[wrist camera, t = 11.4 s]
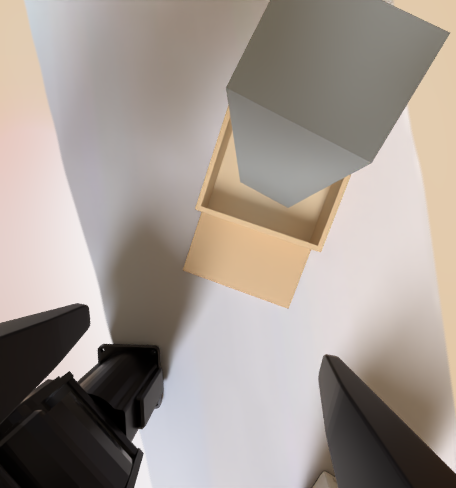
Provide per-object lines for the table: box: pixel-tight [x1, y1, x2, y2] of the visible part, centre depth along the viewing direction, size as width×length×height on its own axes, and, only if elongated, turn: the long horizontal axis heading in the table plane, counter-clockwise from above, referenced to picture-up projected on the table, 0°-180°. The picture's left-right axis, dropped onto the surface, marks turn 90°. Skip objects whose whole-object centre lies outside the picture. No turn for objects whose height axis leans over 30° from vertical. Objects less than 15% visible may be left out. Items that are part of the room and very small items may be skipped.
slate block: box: [226, 0, 450, 208], centre depth 13 cm, size 5×4×13 cm
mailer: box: [183, 105, 351, 308], centre depth 18 cm, size 11×17×3 cm, turn 161°
